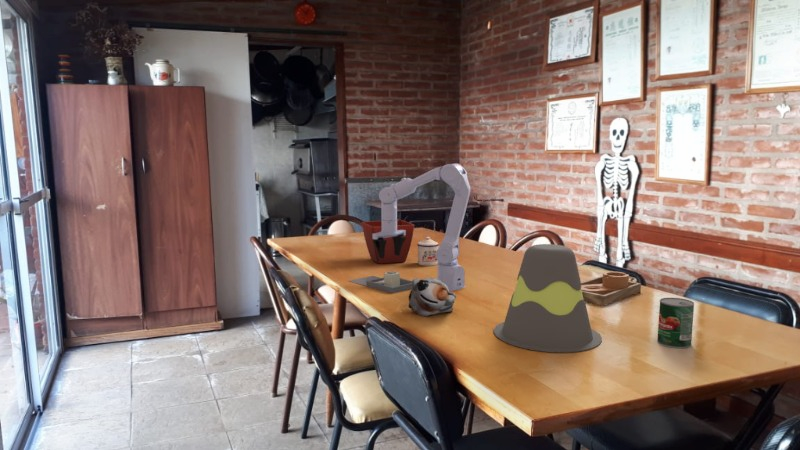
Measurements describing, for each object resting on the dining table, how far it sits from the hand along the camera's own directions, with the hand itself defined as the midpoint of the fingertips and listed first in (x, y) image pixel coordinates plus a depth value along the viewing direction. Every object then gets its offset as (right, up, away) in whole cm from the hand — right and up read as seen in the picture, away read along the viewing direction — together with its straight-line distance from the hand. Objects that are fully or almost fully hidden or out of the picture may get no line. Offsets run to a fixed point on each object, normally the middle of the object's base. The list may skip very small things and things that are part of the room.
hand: (389, 256), depth 210 cm
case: (+1, -11, -7) cm, 13 cm away
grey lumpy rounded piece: (+14, -15, -37) cm, 42 cm away
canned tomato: (+74, -19, -64) cm, 100 cm away
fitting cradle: (+73, -12, -16) cm, 75 cm away
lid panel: (-8, -10, +3) cm, 13 cm away
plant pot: (-2, -4, +43) cm, 43 cm away
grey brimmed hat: (+43, -18, -57) cm, 74 cm away
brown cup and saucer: (+73, -12, -16) cm, 76 cm away
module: (+1, -10, -7) cm, 13 cm away
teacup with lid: (+17, -5, +36) cm, 40 cm away
